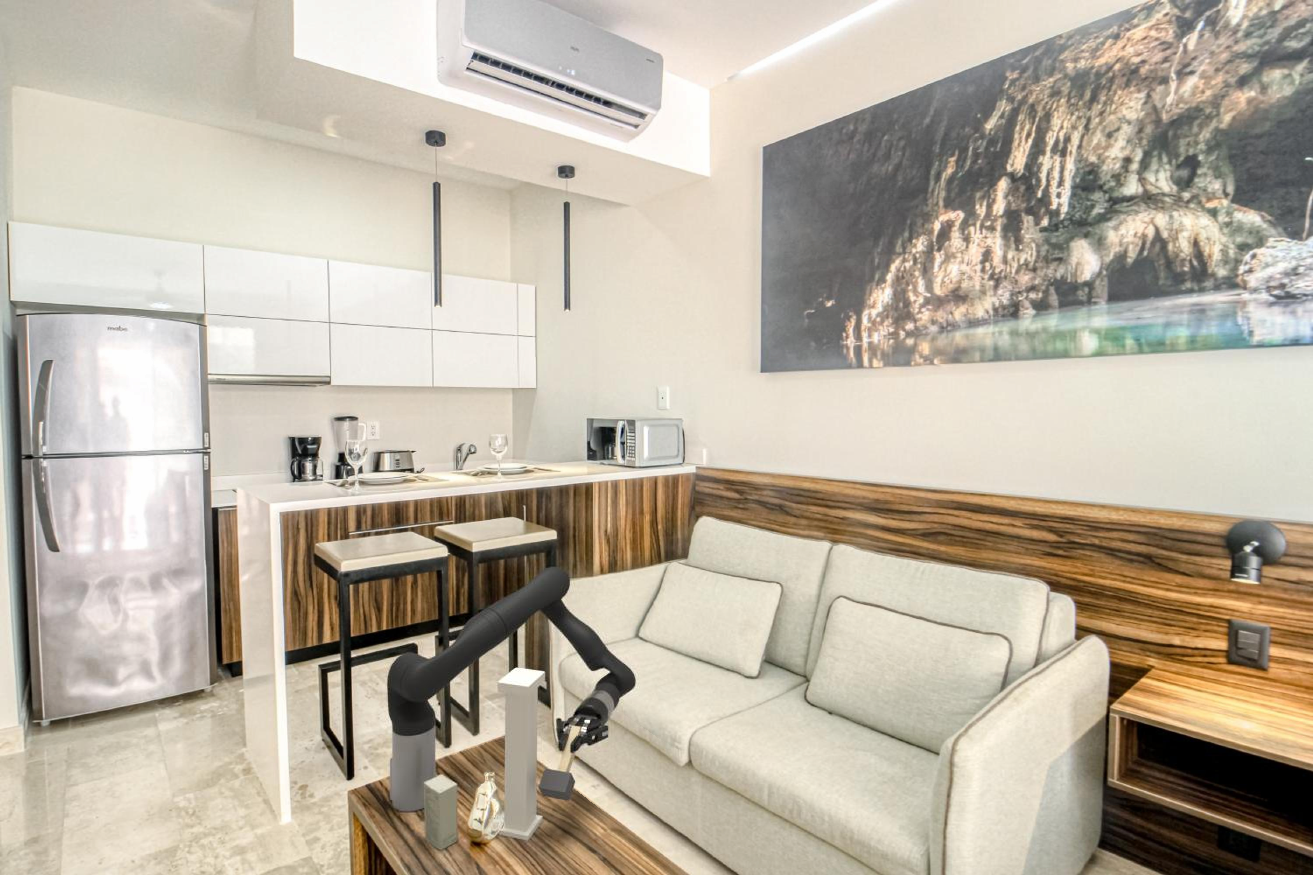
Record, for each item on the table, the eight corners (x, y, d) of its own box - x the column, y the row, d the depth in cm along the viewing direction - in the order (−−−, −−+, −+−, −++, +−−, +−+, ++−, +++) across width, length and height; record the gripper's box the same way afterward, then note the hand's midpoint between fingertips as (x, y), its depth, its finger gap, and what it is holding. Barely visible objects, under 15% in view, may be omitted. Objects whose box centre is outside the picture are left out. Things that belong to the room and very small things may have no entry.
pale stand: (526, 841, 138) (528, 686, 136) (496, 835, 139) (497, 682, 138) (543, 818, 145) (545, 671, 144) (514, 813, 147) (515, 667, 145)
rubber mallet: (569, 800, 139) (564, 792, 137) (543, 795, 141) (538, 787, 138) (590, 732, 151) (586, 723, 148) (566, 728, 152) (562, 719, 150)
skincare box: (458, 841, 137) (459, 784, 137) (439, 851, 134) (439, 793, 133) (442, 828, 142) (442, 772, 141) (423, 838, 138) (423, 781, 138)
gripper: (568, 693, 163) (537, 726, 146) (621, 700, 159) (596, 735, 143) (568, 722, 163) (537, 759, 147) (621, 730, 160) (595, 769, 143)
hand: (566, 747), depth 145 cm, fingers closed on rubber mallet, 2 cm apart
